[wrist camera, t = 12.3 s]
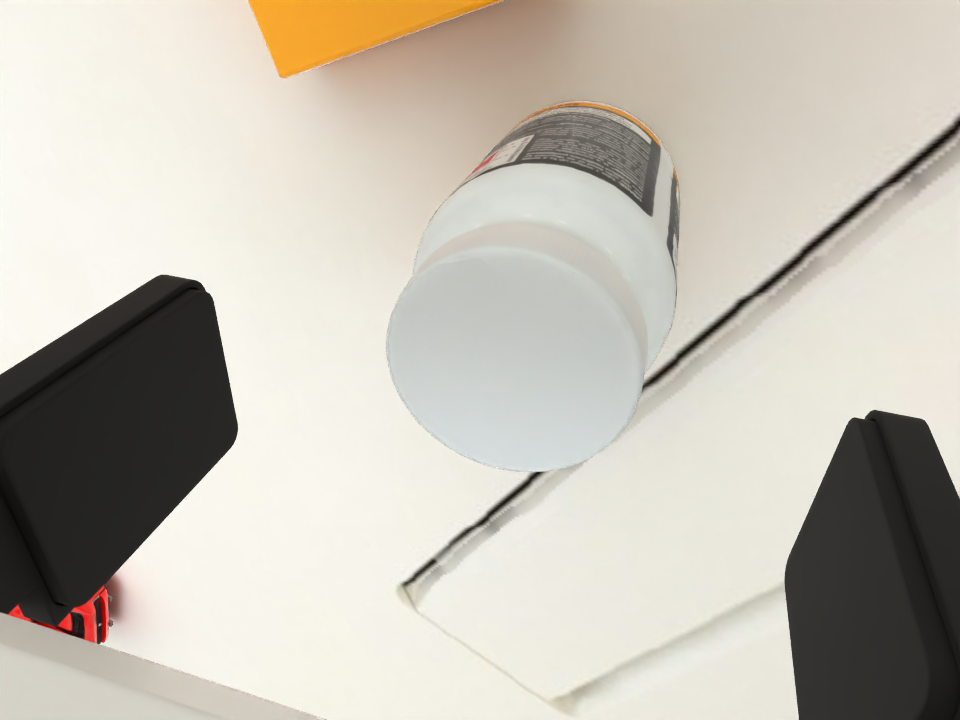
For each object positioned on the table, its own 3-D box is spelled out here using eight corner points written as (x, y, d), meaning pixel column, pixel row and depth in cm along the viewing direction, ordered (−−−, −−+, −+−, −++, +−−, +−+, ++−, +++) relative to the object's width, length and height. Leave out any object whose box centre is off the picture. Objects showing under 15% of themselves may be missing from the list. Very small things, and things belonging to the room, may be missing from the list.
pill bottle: (452, 185, 21) (296, 339, 13) (596, 49, 18) (513, 137, 10) (570, 317, 22) (497, 535, 14) (724, 210, 19) (745, 409, 11)
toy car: (-51, 544, 41) (-102, 584, 39) (-64, 489, 38) (-120, 528, 36) (123, 626, 41) (84, 673, 38) (123, 576, 38) (81, 623, 35)
